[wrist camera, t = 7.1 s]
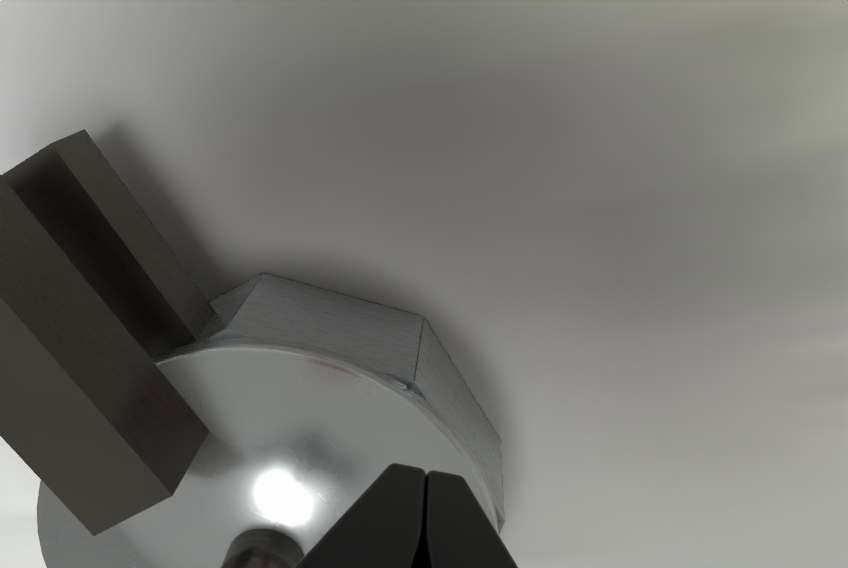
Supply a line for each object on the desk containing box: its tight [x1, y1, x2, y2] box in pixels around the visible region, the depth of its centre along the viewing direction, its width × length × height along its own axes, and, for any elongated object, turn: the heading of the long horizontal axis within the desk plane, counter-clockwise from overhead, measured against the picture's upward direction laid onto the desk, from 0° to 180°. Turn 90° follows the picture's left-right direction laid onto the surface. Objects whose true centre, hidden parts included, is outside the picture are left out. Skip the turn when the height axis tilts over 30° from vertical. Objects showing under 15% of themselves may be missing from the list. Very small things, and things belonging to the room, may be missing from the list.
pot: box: [1, 129, 504, 534], centre depth 22 cm, size 19×11×4 cm, turn 30°
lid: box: [0, 175, 499, 568], centre depth 18 cm, size 17×12×3 cm
